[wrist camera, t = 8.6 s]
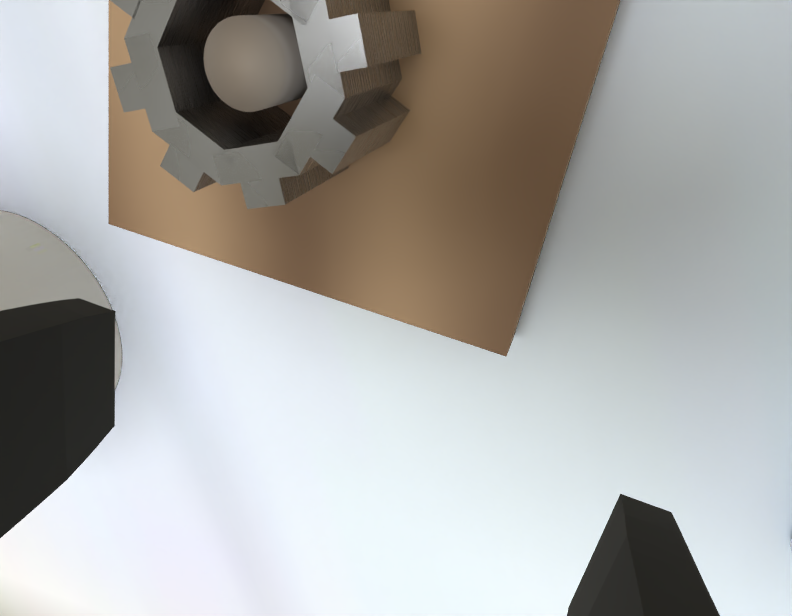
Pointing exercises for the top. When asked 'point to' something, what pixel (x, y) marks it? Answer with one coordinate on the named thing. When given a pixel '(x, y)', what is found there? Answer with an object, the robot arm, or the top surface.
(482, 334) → the gear board
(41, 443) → the robot arm
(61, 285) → the cup
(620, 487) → the top surface
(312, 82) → the gear
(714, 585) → the top surface
